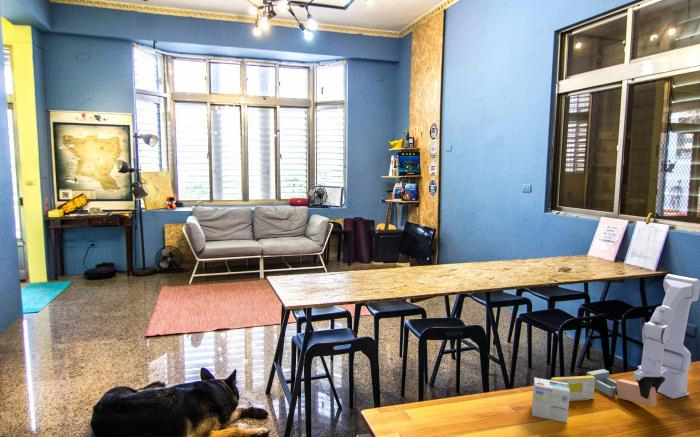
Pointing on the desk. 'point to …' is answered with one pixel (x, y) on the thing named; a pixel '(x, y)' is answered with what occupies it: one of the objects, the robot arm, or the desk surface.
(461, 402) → the desk surface
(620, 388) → the salmon pink block
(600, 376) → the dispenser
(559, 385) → the light bulb box
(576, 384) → the candy box
